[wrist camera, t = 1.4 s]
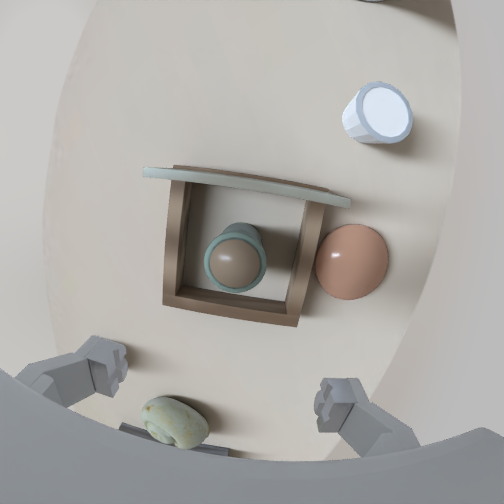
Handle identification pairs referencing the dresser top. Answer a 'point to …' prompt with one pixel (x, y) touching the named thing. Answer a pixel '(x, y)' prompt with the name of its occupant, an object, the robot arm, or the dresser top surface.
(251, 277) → the plant pot
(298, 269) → the frame
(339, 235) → the pink round part
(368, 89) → the shot glass
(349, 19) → the dresser top surface
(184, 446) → the seashell
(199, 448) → the display tray
